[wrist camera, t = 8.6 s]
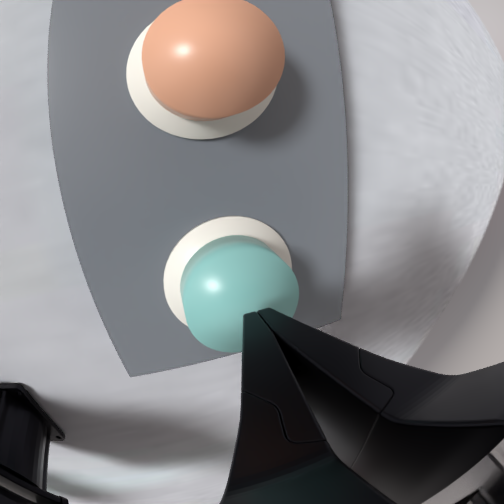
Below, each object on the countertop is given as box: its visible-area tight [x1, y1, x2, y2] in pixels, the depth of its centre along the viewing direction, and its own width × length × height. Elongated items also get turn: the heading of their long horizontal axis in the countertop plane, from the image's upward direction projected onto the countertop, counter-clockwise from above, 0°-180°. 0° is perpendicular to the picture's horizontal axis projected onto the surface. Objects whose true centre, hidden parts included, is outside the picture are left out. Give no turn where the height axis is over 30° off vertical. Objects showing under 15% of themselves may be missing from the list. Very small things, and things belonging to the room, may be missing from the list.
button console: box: [47, 0, 348, 377], centre depth 9 cm, size 24×11×3 cm, turn 5°
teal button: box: [180, 235, 299, 353], centre depth 10 cm, size 4×4×2 cm
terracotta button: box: [142, 0, 285, 121], centre depth 7 cm, size 4×4×2 cm
